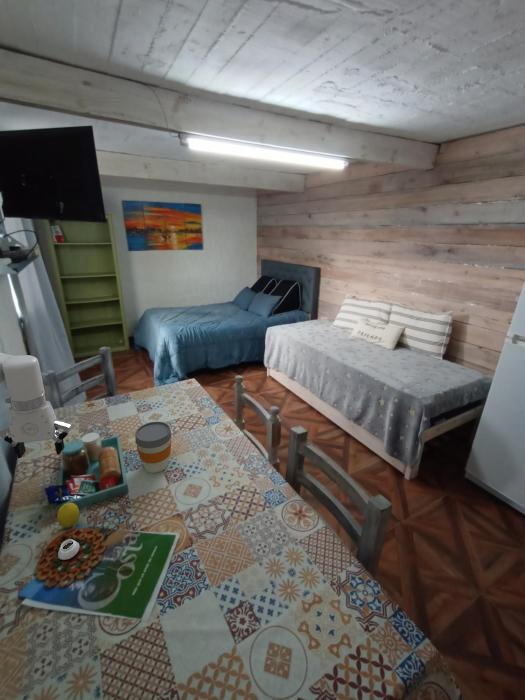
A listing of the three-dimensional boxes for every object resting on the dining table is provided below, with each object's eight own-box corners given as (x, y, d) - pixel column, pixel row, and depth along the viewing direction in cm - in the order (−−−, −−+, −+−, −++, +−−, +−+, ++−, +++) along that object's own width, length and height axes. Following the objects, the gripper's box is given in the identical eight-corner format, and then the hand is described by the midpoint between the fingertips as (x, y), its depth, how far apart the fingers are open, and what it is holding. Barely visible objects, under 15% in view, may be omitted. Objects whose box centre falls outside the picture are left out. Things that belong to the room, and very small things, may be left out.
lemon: (85, 522, 95) (80, 502, 92) (66, 536, 91) (61, 515, 88) (74, 514, 98) (70, 494, 95) (56, 527, 93) (50, 507, 90)
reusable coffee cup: (131, 471, 115) (126, 437, 110) (152, 450, 127) (148, 418, 121) (161, 479, 112) (157, 445, 107) (180, 457, 123) (177, 424, 118)
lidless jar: (77, 540, 90) (57, 550, 87) (75, 532, 89) (54, 542, 86) (81, 553, 86) (60, 564, 83) (79, 545, 85) (58, 556, 82)
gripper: (-17, 410, 79) (-1, 465, 85) (60, 406, 83) (70, 458, 89) (-1, 396, 86) (13, 447, 92) (69, 392, 90) (78, 442, 96)
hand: (41, 453), depth 90 cm, fingers open, 9 cm apart
